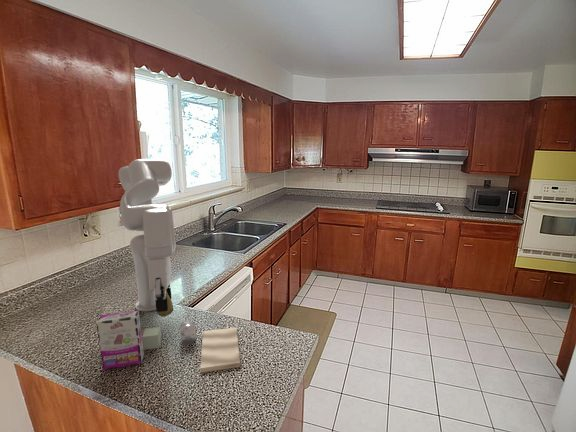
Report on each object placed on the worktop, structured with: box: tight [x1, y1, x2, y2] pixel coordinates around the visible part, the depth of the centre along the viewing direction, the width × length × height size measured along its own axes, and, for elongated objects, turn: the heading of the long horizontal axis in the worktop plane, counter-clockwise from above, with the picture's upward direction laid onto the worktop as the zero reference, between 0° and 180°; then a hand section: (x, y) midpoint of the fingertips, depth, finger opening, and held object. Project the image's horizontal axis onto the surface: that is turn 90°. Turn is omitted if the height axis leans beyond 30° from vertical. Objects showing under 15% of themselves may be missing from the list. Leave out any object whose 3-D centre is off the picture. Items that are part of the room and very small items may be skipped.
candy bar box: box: [96, 309, 145, 371], centre depth 98 cm, size 11×5×16 cm, turn 105°
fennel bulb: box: [156, 286, 174, 318], centre depth 96 cm, size 6×5×12 cm
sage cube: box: [142, 326, 162, 351], centre depth 108 cm, size 5×5×5 cm
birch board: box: [199, 327, 241, 373], centre depth 106 cm, size 20×12×2 cm, turn 13°
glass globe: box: [179, 320, 197, 345], centre depth 111 cm, size 5×5×6 cm
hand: (164, 304), depth 97 cm, fingers closed on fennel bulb, 6 cm apart
